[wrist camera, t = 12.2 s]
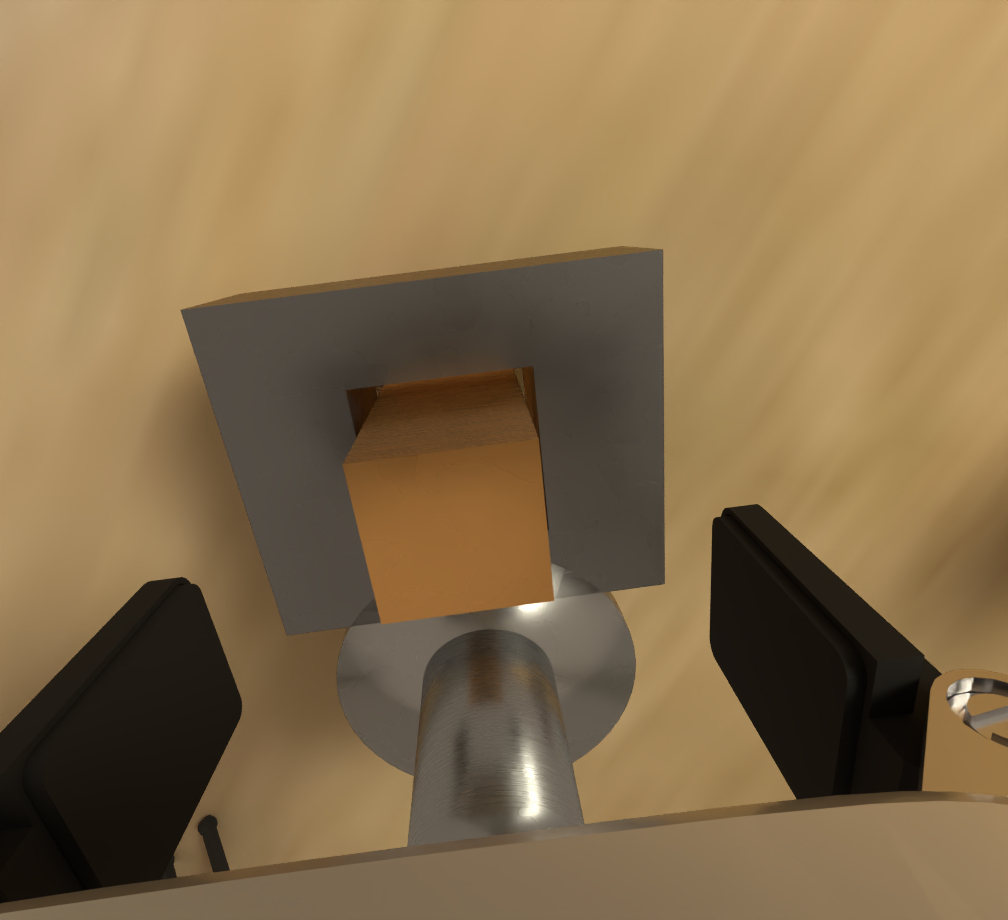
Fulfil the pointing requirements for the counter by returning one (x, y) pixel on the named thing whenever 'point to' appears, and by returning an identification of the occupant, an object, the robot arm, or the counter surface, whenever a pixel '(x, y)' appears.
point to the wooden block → (451, 498)
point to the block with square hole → (567, 491)
